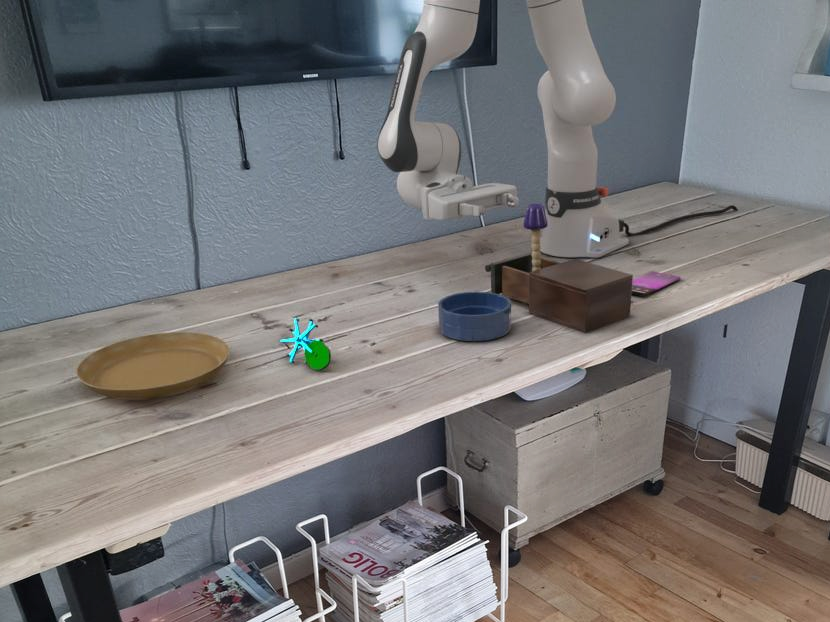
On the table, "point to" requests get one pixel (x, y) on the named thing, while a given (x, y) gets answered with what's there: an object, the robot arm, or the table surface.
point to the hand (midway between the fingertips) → (499, 207)
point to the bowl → (474, 316)
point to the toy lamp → (535, 230)
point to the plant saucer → (153, 365)
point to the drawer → (514, 276)
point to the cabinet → (580, 294)
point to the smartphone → (651, 282)
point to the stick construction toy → (309, 347)
